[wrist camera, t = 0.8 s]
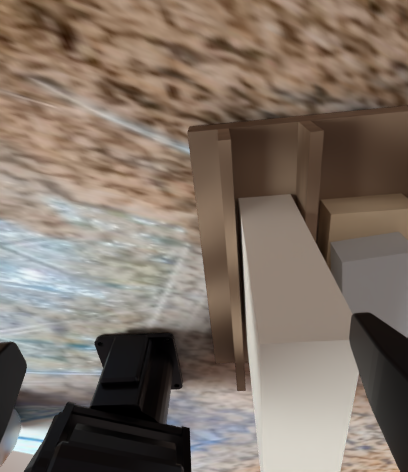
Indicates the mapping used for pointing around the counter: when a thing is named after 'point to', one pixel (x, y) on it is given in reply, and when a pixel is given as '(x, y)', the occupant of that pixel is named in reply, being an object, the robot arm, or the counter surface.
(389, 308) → the grey offcut
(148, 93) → the counter surface
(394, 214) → the oak offcut
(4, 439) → the plastic bottle
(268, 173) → the rack
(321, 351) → the panel
